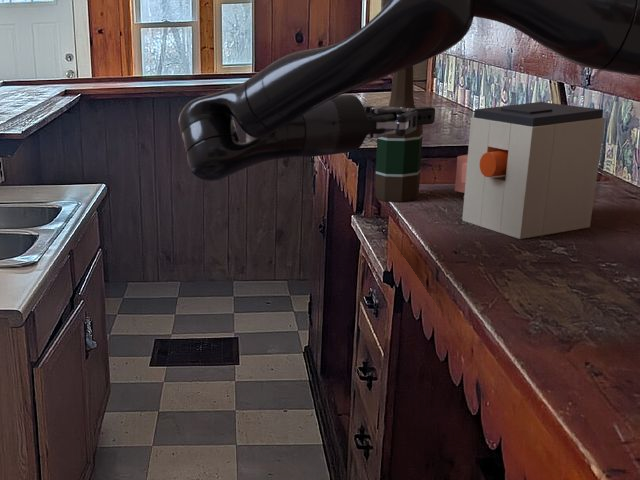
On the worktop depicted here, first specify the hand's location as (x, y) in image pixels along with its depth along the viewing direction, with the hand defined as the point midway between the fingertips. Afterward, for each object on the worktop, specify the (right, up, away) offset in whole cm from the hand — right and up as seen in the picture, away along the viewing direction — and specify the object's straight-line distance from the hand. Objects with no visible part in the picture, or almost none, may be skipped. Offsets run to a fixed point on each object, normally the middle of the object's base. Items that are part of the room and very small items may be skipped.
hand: (431, 114), depth 121 cm
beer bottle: (+4, -6, +33) cm, 34 cm away
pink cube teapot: (+19, -6, +30) cm, 36 cm away
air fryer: (+18, -13, +13) cm, 26 cm away
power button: (+12, -7, +8) cm, 16 cm away
